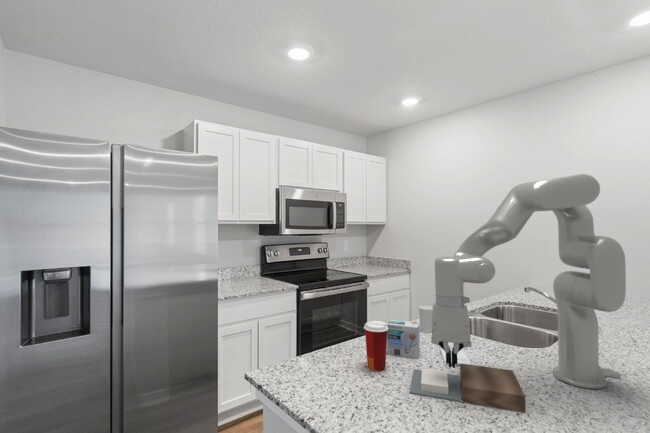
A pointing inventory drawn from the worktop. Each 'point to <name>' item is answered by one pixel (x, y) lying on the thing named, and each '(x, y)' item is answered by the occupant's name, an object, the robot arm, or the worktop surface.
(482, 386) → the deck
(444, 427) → the worktop surface
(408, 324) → the light bulb box
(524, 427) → the worktop surface
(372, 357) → the paper cup
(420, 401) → the worktop surface
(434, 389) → the cream rectangular block
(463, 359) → the external hard drive
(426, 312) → the grey tapered cup
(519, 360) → the worktop surface
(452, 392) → the mat
